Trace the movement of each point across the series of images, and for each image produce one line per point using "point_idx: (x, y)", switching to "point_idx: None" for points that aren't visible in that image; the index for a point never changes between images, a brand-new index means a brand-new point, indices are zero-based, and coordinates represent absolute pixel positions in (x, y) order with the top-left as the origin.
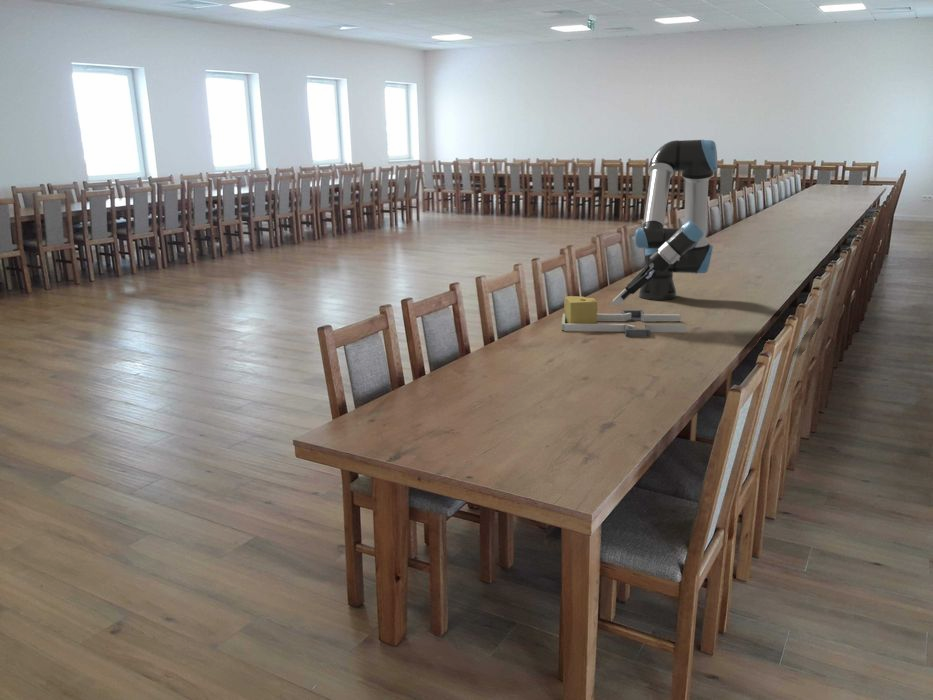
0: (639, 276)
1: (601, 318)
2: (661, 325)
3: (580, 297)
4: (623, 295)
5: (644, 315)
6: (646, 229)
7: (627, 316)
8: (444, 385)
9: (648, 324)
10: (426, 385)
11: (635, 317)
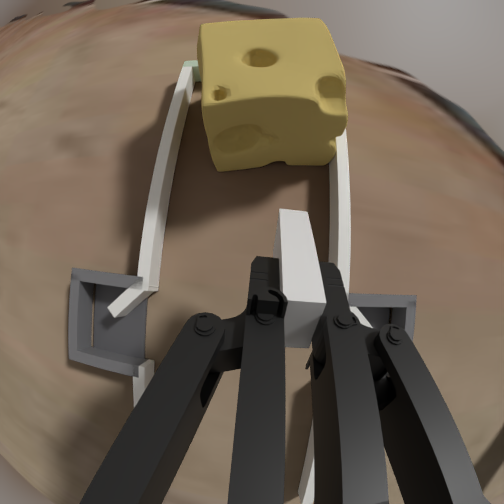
0: (338, 501)
1: (332, 201)
2: None
3: (313, 54)
4: (250, 276)
5: None
6: None
7: None
8: (5, 42)
9: (142, 380)
10: (14, 30)
11: None
